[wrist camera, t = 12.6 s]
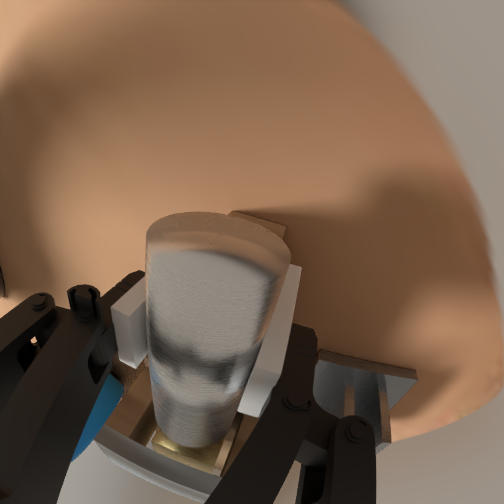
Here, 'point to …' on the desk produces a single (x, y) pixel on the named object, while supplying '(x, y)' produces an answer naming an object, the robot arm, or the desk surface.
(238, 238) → the axle
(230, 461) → the beam
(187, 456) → the tan rectangular block
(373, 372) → the grey slotted plate stand
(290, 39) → the desk surface
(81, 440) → the alarm clock
